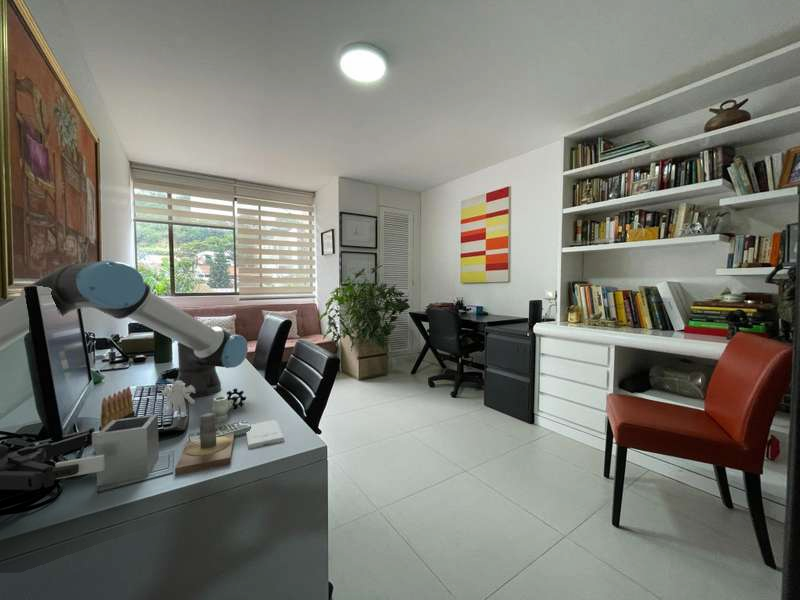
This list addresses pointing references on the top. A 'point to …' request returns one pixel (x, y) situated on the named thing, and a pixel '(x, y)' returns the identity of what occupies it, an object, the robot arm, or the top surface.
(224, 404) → the valve
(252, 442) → the external hard drive
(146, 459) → the square pen holder
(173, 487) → the top surface
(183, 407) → the hat wearing toy figure
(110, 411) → the ammunition clip
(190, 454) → the shaft stand
